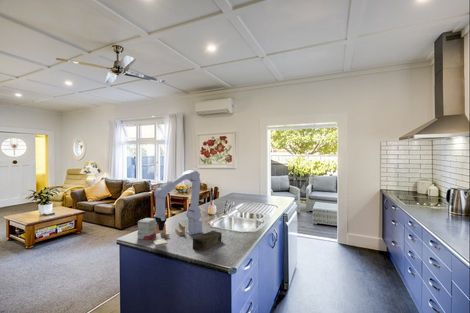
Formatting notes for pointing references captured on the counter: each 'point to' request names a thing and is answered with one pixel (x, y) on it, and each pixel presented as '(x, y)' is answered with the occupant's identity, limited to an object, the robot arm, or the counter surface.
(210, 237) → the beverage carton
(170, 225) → the counter surface
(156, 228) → the terracotta block
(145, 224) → the ink box
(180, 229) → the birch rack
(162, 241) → the white tile
